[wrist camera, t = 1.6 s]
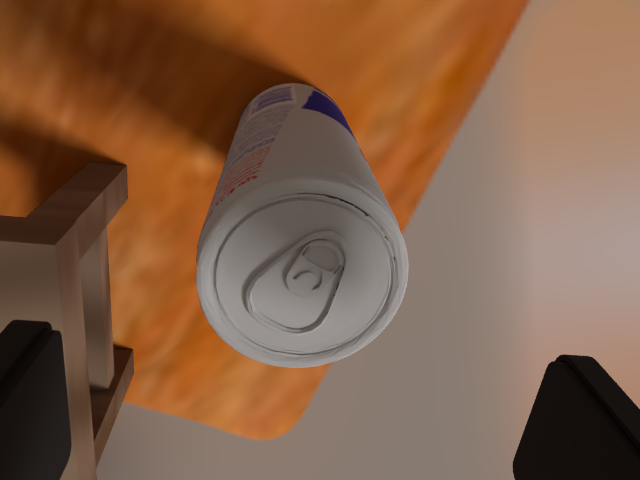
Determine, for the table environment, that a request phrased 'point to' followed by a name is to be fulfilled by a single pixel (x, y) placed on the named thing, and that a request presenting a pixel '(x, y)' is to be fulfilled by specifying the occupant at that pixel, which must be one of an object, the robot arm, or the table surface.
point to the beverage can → (298, 237)
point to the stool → (72, 299)
